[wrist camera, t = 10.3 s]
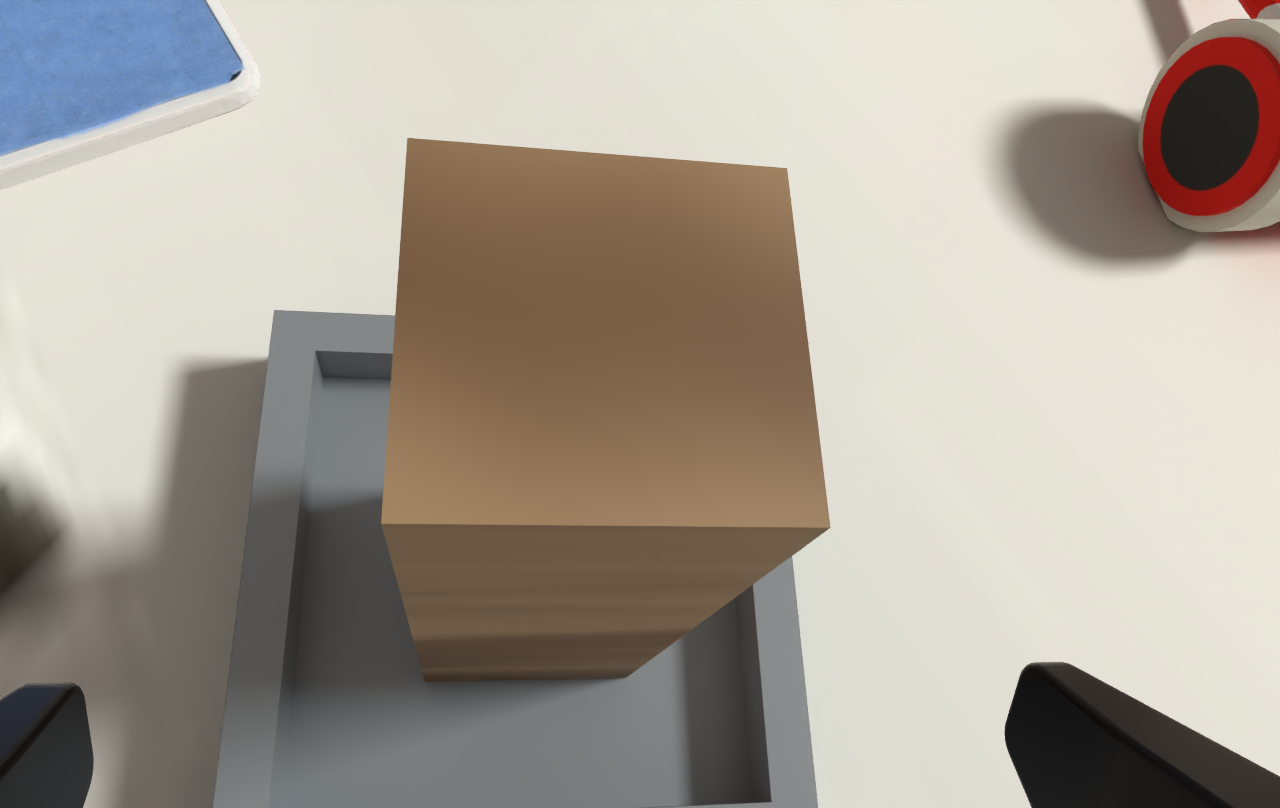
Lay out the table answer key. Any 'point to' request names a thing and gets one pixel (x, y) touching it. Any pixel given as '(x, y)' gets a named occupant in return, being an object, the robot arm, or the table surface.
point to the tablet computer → (111, 77)
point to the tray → (461, 710)
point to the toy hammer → (1218, 125)
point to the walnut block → (591, 405)
